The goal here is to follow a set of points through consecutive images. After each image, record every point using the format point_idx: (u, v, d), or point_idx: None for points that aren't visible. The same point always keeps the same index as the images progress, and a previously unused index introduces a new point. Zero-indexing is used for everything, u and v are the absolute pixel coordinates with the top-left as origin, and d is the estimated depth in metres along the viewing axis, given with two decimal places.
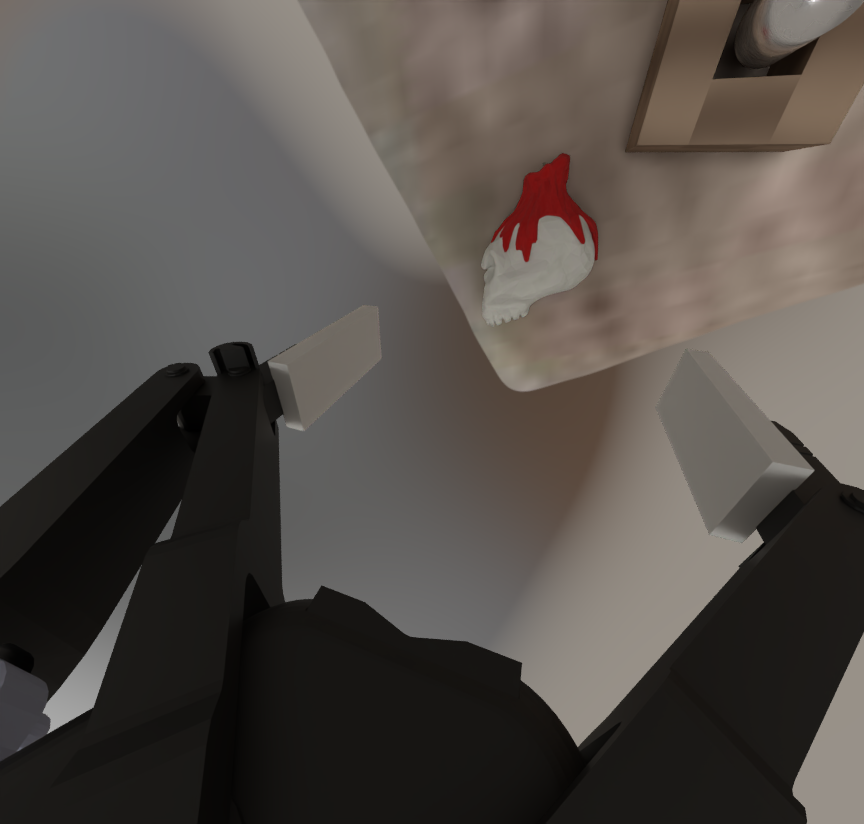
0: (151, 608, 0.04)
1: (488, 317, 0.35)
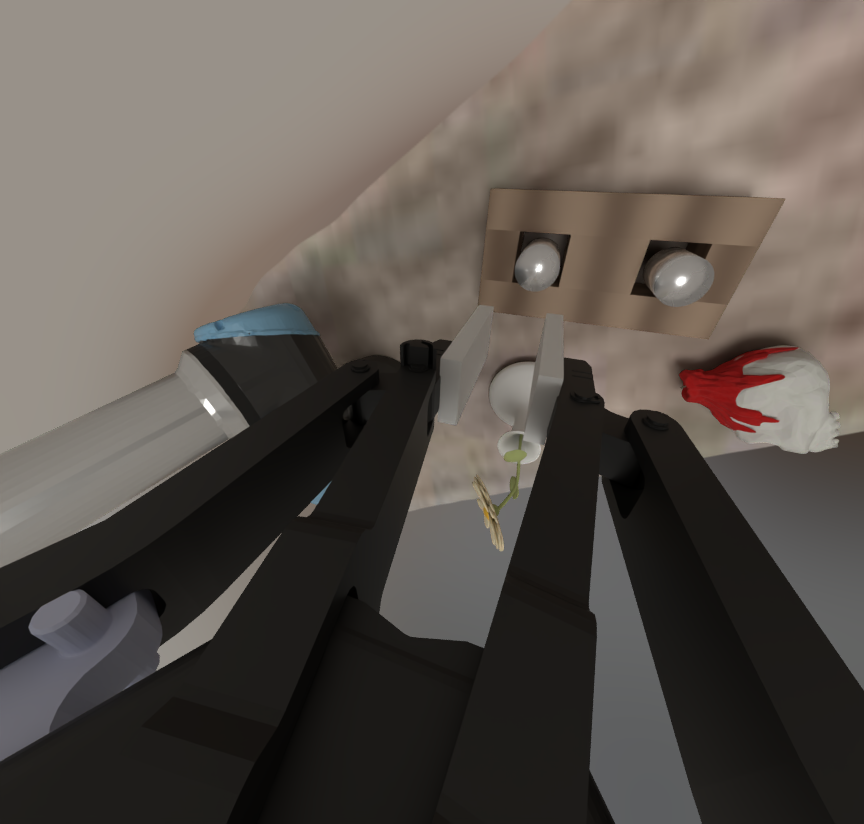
0: (268, 585, 0.04)
1: (822, 449, 0.34)
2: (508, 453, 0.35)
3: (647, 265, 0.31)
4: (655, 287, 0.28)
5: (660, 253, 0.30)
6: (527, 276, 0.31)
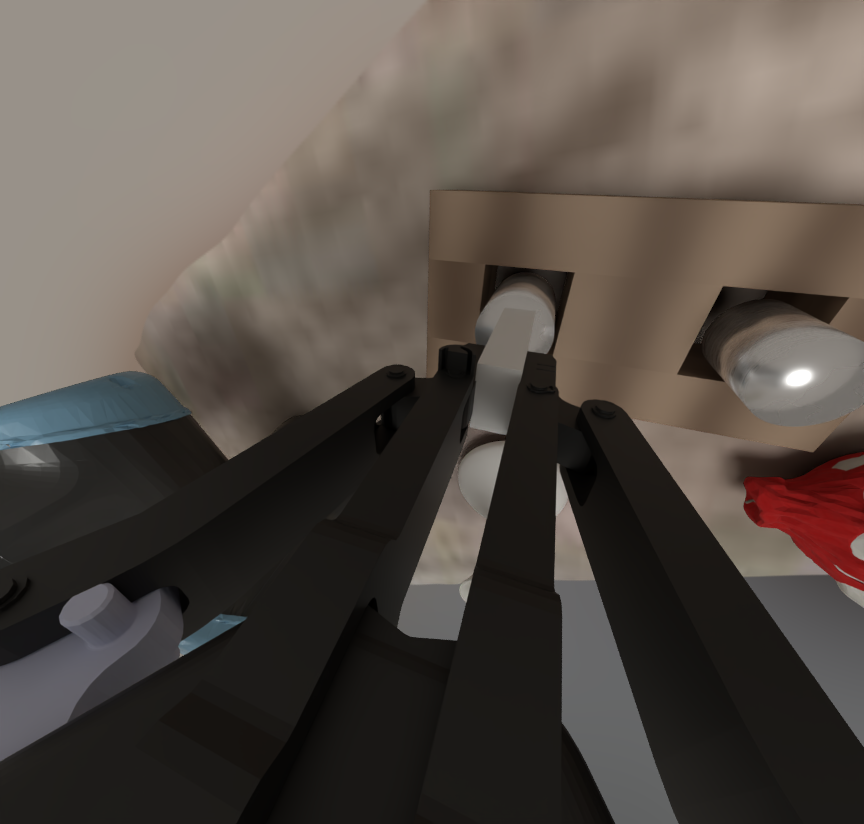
0: (290, 588, 0.04)
1: None
2: None
3: (713, 330, 0.17)
4: (745, 388, 0.14)
5: (742, 311, 0.16)
6: None
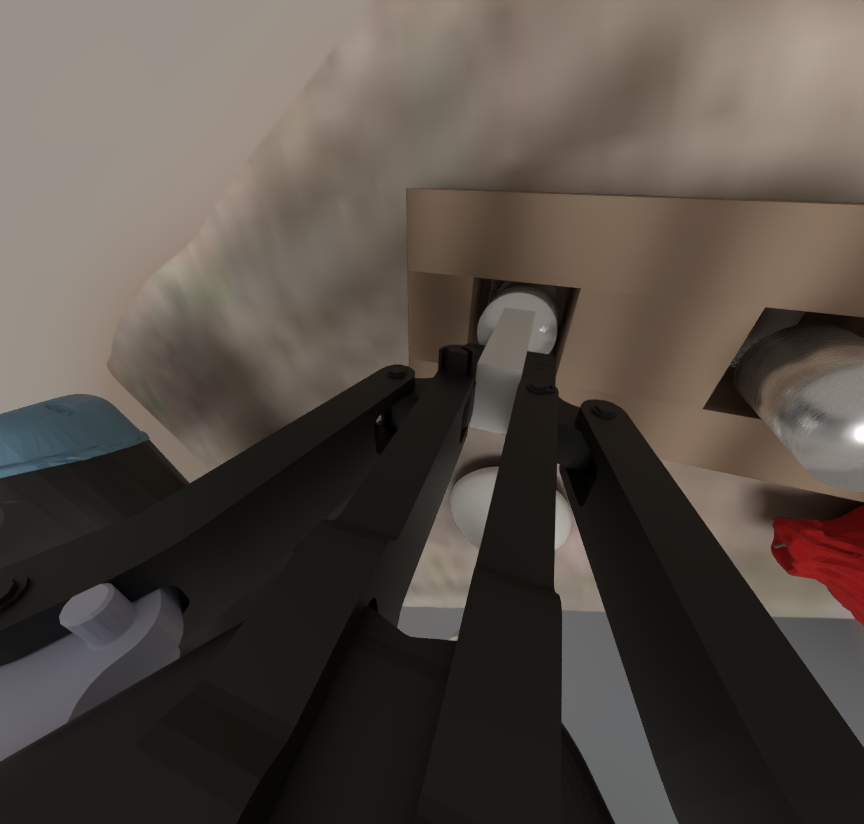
0: (290, 588, 0.04)
1: None
2: None
3: (750, 360, 0.14)
4: (801, 443, 0.11)
5: (788, 338, 0.13)
6: None
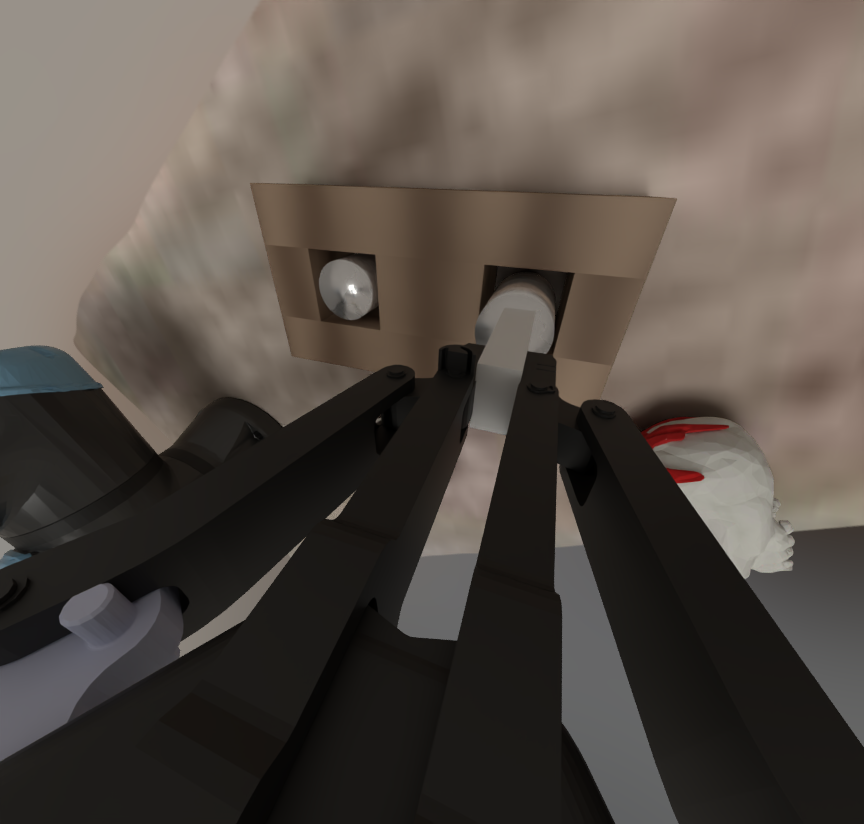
0: (290, 588, 0.04)
1: (770, 571, 0.23)
2: None
3: None
4: None
5: (503, 281, 0.20)
6: (336, 300, 0.23)
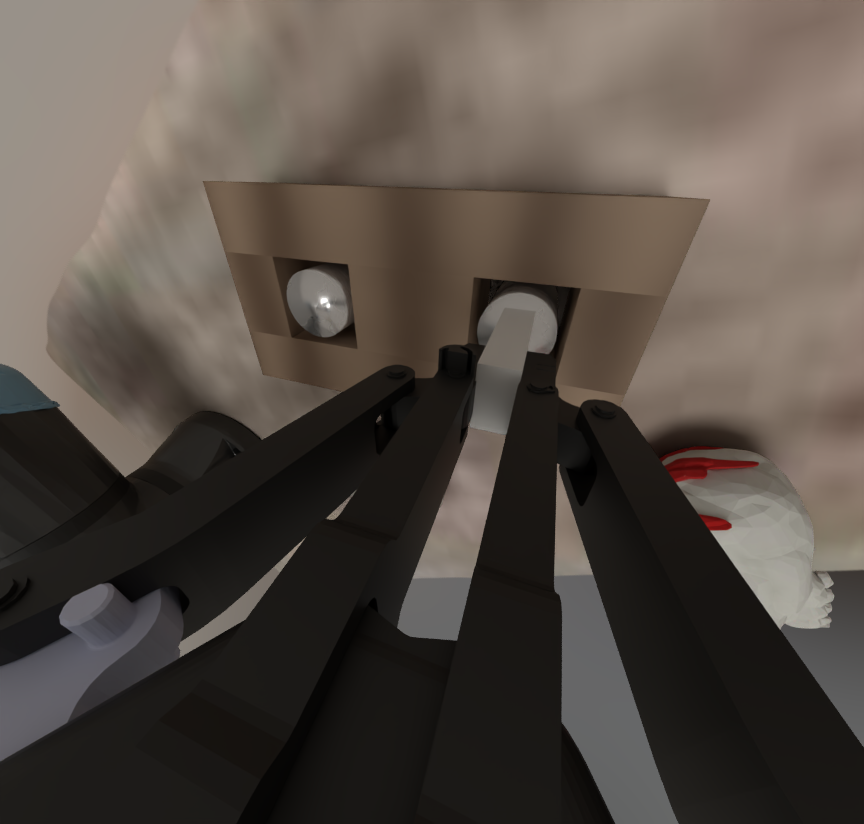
0: (290, 588, 0.04)
1: (803, 626, 0.20)
2: None
3: None
4: (479, 338, 0.18)
5: (506, 281, 0.20)
6: (307, 315, 0.20)
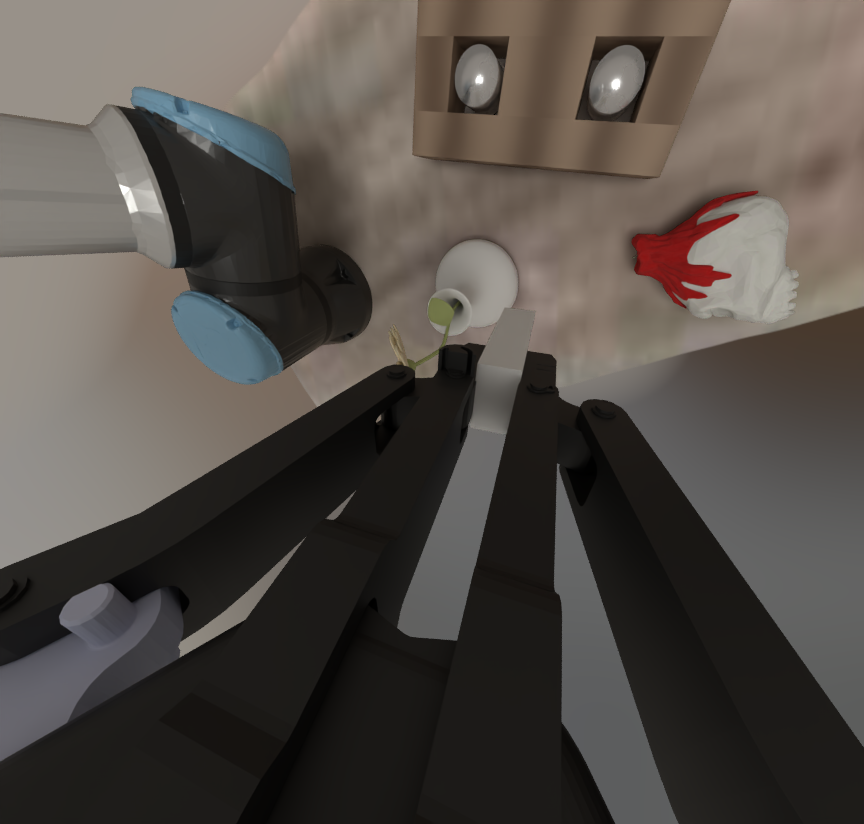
0: (290, 588, 0.04)
1: (777, 317, 0.31)
2: (431, 305, 0.31)
3: None
4: (590, 90, 0.28)
5: None
6: (467, 87, 0.30)
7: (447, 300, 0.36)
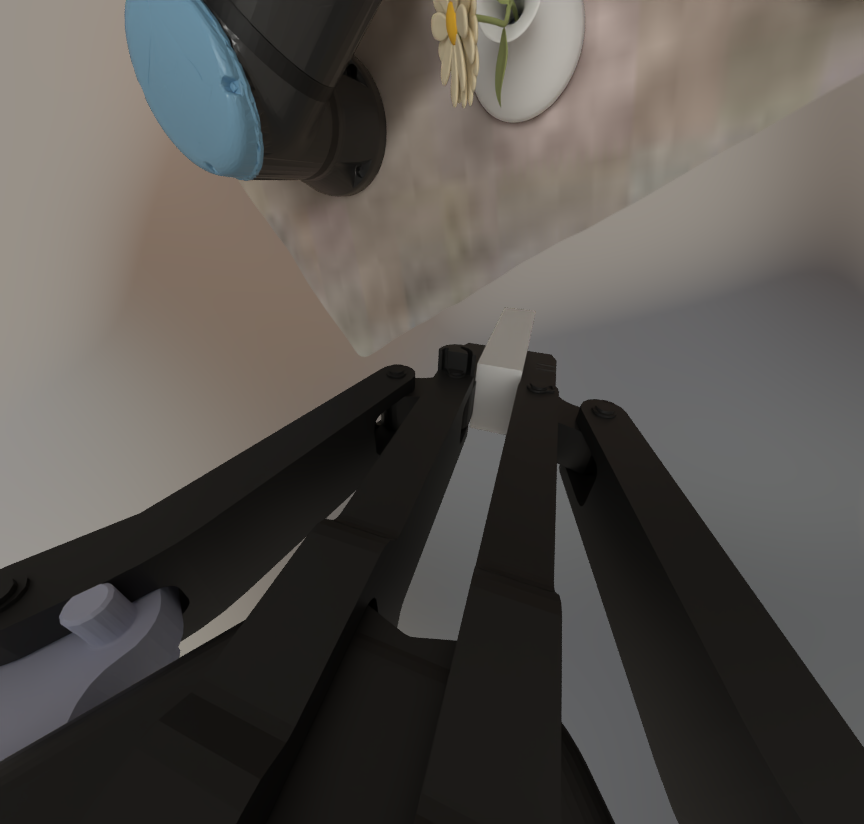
0: (290, 588, 0.04)
1: None
2: None
3: None
4: None
5: None
6: None
7: None
